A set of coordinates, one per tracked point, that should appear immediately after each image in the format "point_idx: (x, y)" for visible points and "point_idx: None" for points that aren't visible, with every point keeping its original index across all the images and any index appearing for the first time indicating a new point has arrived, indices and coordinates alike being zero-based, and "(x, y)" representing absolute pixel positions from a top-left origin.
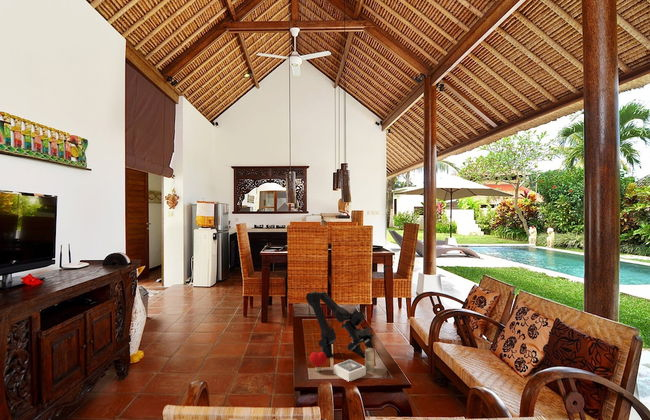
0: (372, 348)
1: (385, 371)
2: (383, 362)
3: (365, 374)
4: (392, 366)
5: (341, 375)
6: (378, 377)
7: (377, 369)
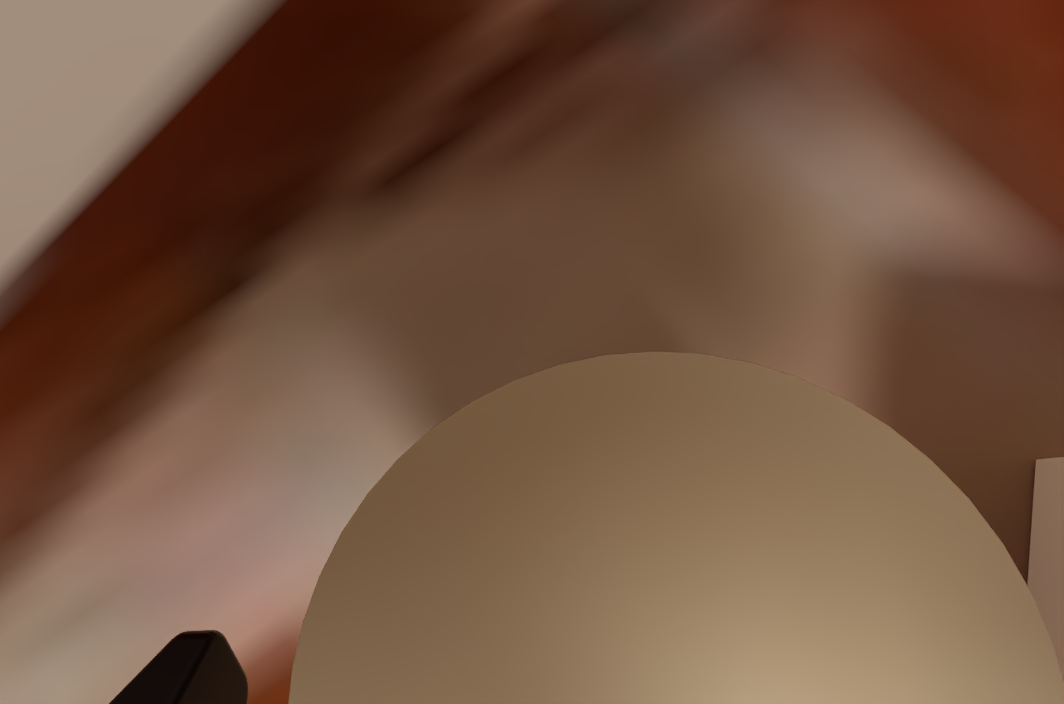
0: (337, 660)
1: (441, 202)
2: (3, 568)
3: (1058, 459)
4: (74, 249)
5: None
6: (875, 118)
7: None
